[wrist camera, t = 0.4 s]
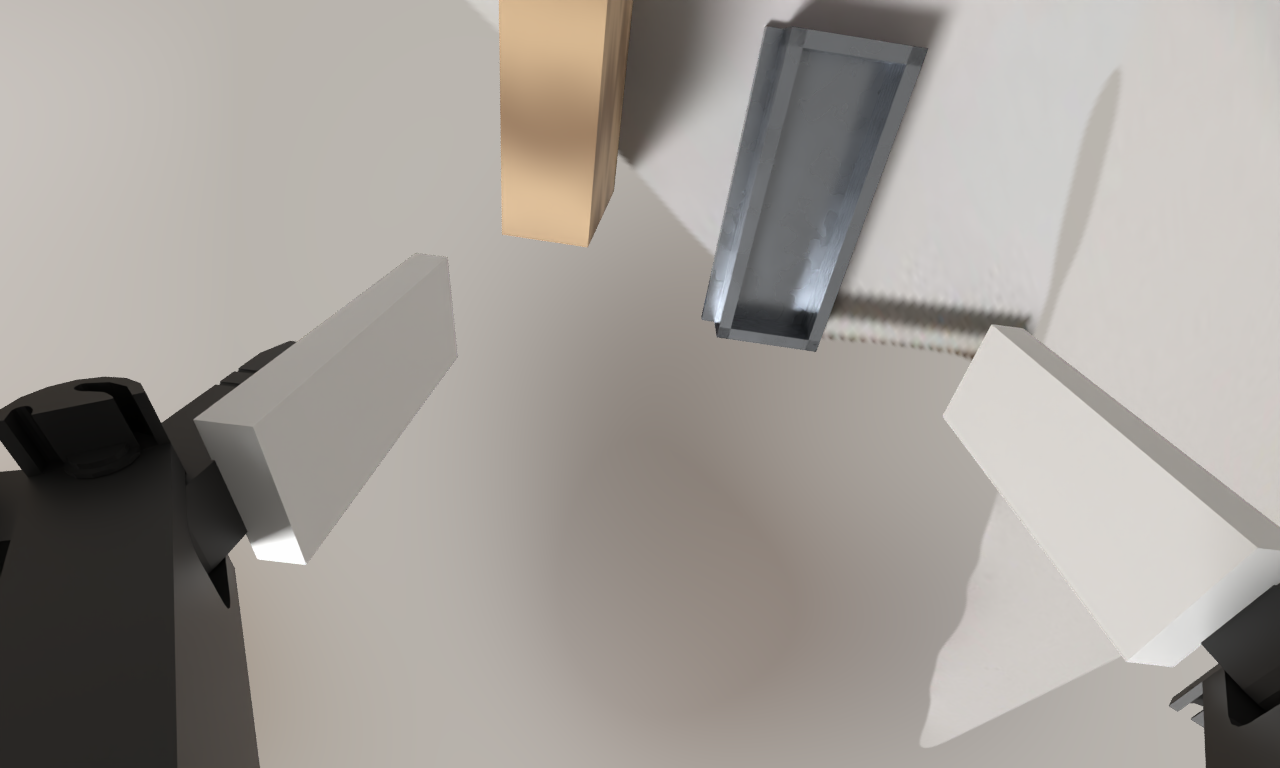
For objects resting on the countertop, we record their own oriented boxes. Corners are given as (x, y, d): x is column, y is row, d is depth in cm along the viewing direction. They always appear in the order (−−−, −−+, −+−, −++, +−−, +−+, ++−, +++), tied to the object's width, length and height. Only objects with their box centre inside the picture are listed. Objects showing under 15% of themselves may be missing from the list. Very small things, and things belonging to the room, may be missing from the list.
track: (765, 26, 28) (774, 23, 26) (922, 52, 29) (946, 51, 26) (701, 316, 38) (703, 335, 36) (819, 334, 38) (829, 353, 36)
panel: (563, -53, 27) (497, -120, 17) (637, -41, 27) (615, -100, 17) (554, 181, 34) (502, 234, 24) (613, 191, 34) (587, 247, 24)
